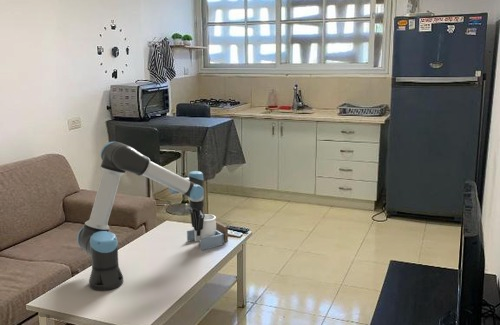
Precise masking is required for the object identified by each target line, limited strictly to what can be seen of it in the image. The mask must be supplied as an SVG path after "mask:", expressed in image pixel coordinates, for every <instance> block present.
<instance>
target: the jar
mask: <svg viewBox="0 0 500 325" xmlns="http://www.w3.org/2000/svg"><path fill="white" fill-rule="evenodd" d="M203 214H204V215H205V217H204V221H203V229H202V230H200V241H199V245H201V239H202V238H207V237H211V236H215V233H216V221H217V220H216V218H217V217H216V215H214V214H208V213H207V214H205V213H203Z"/></svg>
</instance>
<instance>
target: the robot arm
mask: <svg viewBox="0 0 500 325" xmlns="http://www.w3.org/2000/svg"><path fill="white" fill-rule="evenodd" d="M100 157H101V160H102V161H101V164H100V169H101V171H102V173H101V177H100V180H99V184H98V188H97V191H96V194H95V199H94V201H93V206H92V208H91V209H92V210H91V213H90V216H89V219H88V220H87V221H85V222H84V225H83V227H82V228H80V229H79V231H78V233H77V237H76V240H77V243H78V246H79V248H80V249H81V250H82V251H84V252H85V253H87V254H88V255H89V256H90V258H91V272H90V275H89V279H88V285H89V286H88V287H89V288H90V289H91V290H94V291H99V292H104V291H105V292H106V291H110V290H114V289H117V288H119V287H120V286H122V285H123V283H124V276H123V273H122V270H121V269H120V266H119V248H118V246H119V245H118V244H119V243H118V242H119V241H118V238H117V235H116V234H115V233H114V232H111V231H110V226H109V225H108V223H109V219H110V216H111V213H112V209H113V206H114V202H115V198H116V194H117V192H118V187H119V184H120V180H121V177H122V176H123V175H125V174H126V172H128V173H131V174H134V175H136V176H138V177H139V176H140V177H141V176H144V177H146V178H148V179H149V180H151V181H153V182H156V183H158V184H160V185H163V186H165V187H167V188H168V191H169V192H170V193H171V194H172V195H177V194H181V195H183V196H186V197H187V198H189V207H190V208H191V209H189V211H188V212H189V214H190V220H191V227H192V228H193V229H194V232H195V240H194V242H200V230H202V229H203V221H204V217H205V215H204V214H205V213H203V209H202V208H204V205H205V204H204V203H205V202H204V195H205V190H204V173H203V172H202V171H199V170H194V171H189V173H188V176H186V177H185V176H182V175H179V174H177V173H175V172H173V171H171V170H170V169H167V168H165V167H163V166H161V165H159V164H157V163H155V162H153V161H151V159H150V158H149V156H146V155H144V154H143V153H141V152H140V151H138V150H137V149H135V147H132V146H130V145H127V144H125V143H123V142H120V141H109V142H107V143H105V145H104V146H103V147H102V149H101V150H100Z"/></svg>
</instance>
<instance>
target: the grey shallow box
mask: <svg viewBox="0 0 500 325" xmlns="http://www.w3.org/2000/svg"><path fill="white" fill-rule="evenodd" d="M186 241H187V242H191V241H195V232H194V228H193V229H189V230H188V229H187V230H186ZM223 245H225V242H224V234H223V233H221V232H219V231H217V230H216V233H215V236H211V237H207V238H202V239H201V244H200V250H201V251H204V250H208V249H212V248H216V247H220V246H223Z"/></svg>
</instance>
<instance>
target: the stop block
mask: <svg viewBox="0 0 500 325" xmlns="http://www.w3.org/2000/svg"><path fill="white" fill-rule="evenodd" d="M215 221H216V230H217V231H219V232H221V233H223V234H224V243H227V242H228V241H229V240H228V239H229V231H228V230H229V227H228V225H226V224H225V223H222V222H221V221H219V220H215Z"/></svg>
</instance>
